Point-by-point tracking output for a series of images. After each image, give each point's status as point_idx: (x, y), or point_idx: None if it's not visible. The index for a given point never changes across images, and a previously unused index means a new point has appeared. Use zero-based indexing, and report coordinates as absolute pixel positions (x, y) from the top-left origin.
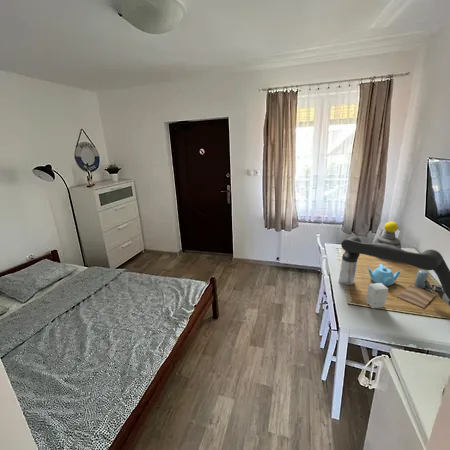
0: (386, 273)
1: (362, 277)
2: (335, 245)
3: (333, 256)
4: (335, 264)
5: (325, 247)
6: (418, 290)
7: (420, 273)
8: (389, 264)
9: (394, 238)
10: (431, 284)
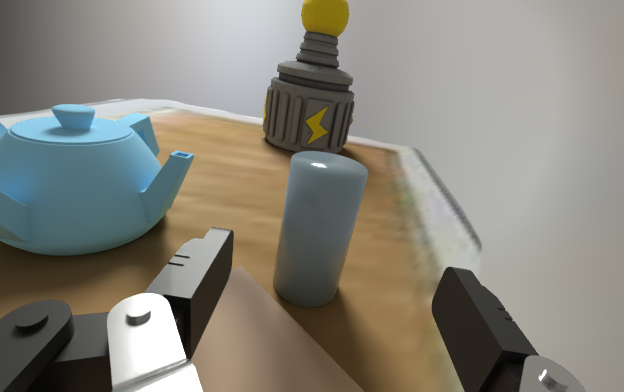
0: (30, 145)
1: None
2: (179, 104)
3: None
4: None
5: (132, 100)
6: (244, 329)
7: (296, 170)
8: (280, 162)
9: (329, 63)
10: (146, 356)
